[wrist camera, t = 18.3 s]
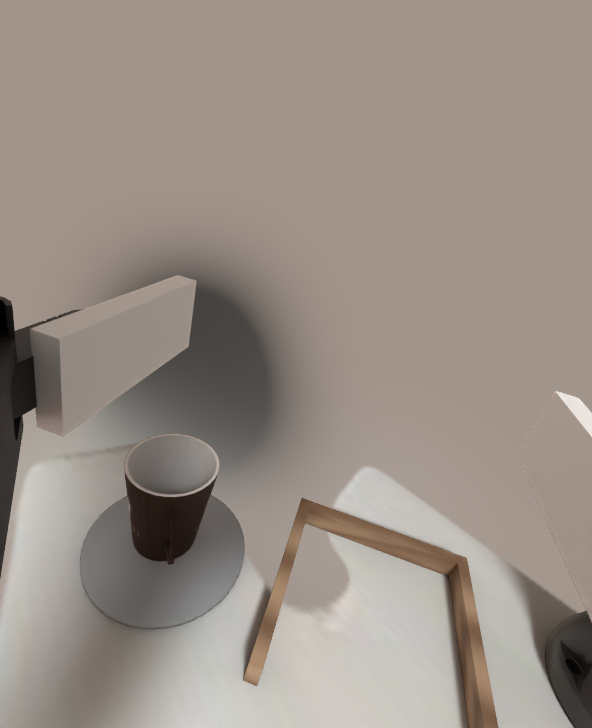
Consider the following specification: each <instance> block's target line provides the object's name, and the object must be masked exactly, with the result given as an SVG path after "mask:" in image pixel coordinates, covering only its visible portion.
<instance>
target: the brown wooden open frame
mask: <svg viewBox="0 0 592 728" xmlns="http://www.w3.org/2000/svg"><path fill="white" fill-rule="evenodd" d="M305 523H306V524H309V525H312V526H314V527H317V528H320V529H323V530H325V531H328V532H331V533H333V534H336V535H339V536H341V537H344V538H347V539H349V540H352V541H355V542H357V543H360V544H363V545H365V546H368V547H371V548H373V549H376V550H379V551H382V552H384V553H387V554H390V555H392V556H395V557H398V558H400V559H403V560H406V561H408V562H411V563H414V564H416V565H419V566H422V567H425V568H427V569H430V570H433V571H435V572H438V573H441V574H443V575H446V576H449V578H450V586H451V593H452V601H453V609H454V616H455V624H456V632H457V639H458V647H459V655H460V662H461V670H462V678H463V685H464V693H465V701H466V708H467V716H468V723H469V728H498V724H497V718H496V713H495V708H494V702H493V697H492V691H491V686H490V681H489V675H488V670H487V664H486V659H485V654H484V648H483V643H482V637H481V632H480V627H479V621H478V616H477V610H476V605H475V600H474V594H473V589H472V583H471V578H470V573H469V567H468V562H467V558H465V557H463V556H460V555H457V554H454V553H452V552H449V551H446V550H443V549H441V548H438V547H435V546H432V545H430V544H427V543H424V542H421V541H419V540H416V539H413V538H410V537H408V536H405V535H402V534H399V533H397V532H394V531H391V530H389V529H386V528H383V527H380V526H378V525H375V524H372V523H369V522H367V521H364V520H361V519H358V518H356V517H353V516H350V515H347V514H345V513H342V512H339V511H336V510H334V509H331V508H328V507H325V506H323V505H320V504H317V503H314V502H312V501H309V500H306V499H303V498H302V499H301V502H300V506H299V509H298V512H297V515H296V518H295V521H294V524H293V527H292V530H291V533H290V537H289V540H288V543H287V546H286V549H285V552H284V555H283V558H282V562H281V565H280V568H279V571H278V574H277V577H276V580H275V583H274V586H273V589H272V592H271V596H270V599H269V602H268V605H267V608H266V611H265V614H264V617H263V620H262V624H261V627H260V630H259V633H258V636H257V639H256V642H255V645H254V648H253V652H252V655H251V658H250V661H249V664H248V667H247V670H246V673H245V676H244V681H246V682H248V683H251V684H253V685H255V686H257V684H258V681H259V679H260V676H261V673H262V670H263V667H264V663H265V660H266V657H267V653H268V650H269V646H270V643H271V639H272V636H273V632H274V629H275V625H276V622H277V618H278V615H279V611H280V608H281V604H282V601H283V597H284V594H285V590H286V587H287V584H288V580H289V576H290V573H291V570H292V566H293V563H294V559H295V556H296V552H297V549H298V545H299V542H300V538H301V535H302V531H303V528H304V525H305Z"/></svg>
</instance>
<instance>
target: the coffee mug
mask: <svg viewBox="0 0 592 728" xmlns="http://www.w3.org/2000/svg"><path fill="white" fill-rule="evenodd" d="M124 470H125V479H126V487H127V496H128V505H129V513H130V522H131V531H132V540H133V544H134V547H135V549H136V550H137V552H138V553H139V554H140V555H141V556H143V557H145V558H147V559H149V560H152V561H167V563H168V565H171V564H174V559H176V558H178V557H180V556H182V555H184V554H185V553H186V552H187V551H188V550H189V549H190V548H191V547H192V545H193V543H194V541H195V538H196V535H197V532H198V529H199V526H200V523H201V521H202V518H203V515H204V512H205V509H206V506H207V503H208V500H209V497H210V495H211V492H212V489H213V486H214V483H215V480H216V477H217V474H218V471H219V459H218V456H217V454H216V452H215V451H214V449H212V447H211V446H210V445H208V444H207V443H205V442H204V441H202V440H200V439H198V438H195V437H192V436H189V435H183V434H161V435H156V436H153V437H149V438H147V439H145V440H143V441H141V442H139V443H138V444H136V445H135V446H134V447H133V448H132V449H131V450H130V451H129V453H128V454H127V456H126V459H125V462H124Z"/></svg>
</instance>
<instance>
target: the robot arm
mask: <svg viewBox="0 0 592 728" xmlns="http://www.w3.org/2000/svg"><path fill="white" fill-rule="evenodd" d="M195 288H196V281H195V280H192V279H188V278H185V277H182V276H179V275H177V276H174V277H171V278H169V279H166V280H163V281H160V282H157V283H155V284H152V285H149V286H147V287H144V288H141V289H138V290H135V291H133V292H130V293H127V294H124V295H122V296H119V297H116V298H113V299H111V300H108V301H105V302H102V303H100V304H97V305H94V306H91V307H89V308H86V309H81V310H73V311H70V312H68V313H64V314H62V315H59V316H58V317H53V318H50V319H48V320H47V321H42V322H39V323H36V324H33V325H31V326H28V327H25V328H22V329H19V330H17V331H14V320H13V309H12V303H11V301H9V300H8V299H6V298H3V297H0V577H1V570H2V564H3V557H4V550H5V544H6V537H7V531H8V524H9V518H10V511H11V505H12V498H13V491H14V485H15V478H16V472H17V465H18V459H19V452H20V446H21V439H22V433H23V417H22V415H23V414H25V413H27V412H28V411H30V410H32V409H33V408H35V407H36V421H37V427H39V428H42V429H44V430H47V431H50V432H52V433H55V434H58V435H60V436H65V435H66V434H67V433H69V432H70V431H71V430H73V429H74V428H76V427H77V426H78V425H80V424H81V423H82V422H84V421H85V420H87V419H88V418H90V417H91V416H92V415H94V414H95V413H97V412H98V411H99V410H101V409H102V408H104V407H105V406H106V405H108V404H109V403H110V402H112V401H113V400H115V399H116V398H117V397H119V396H120V395H121V394H123V393H124V392H126V391H127V390H128V389H130V388H131V387H133V386H134V385H135V384H137V383H138V382H140V381H141V380H142V379H144V378H145V377H147V376H148V375H149V374H151V373H152V372H154V371H155V370H156V369H158V368H159V367H161V366H162V365H163V364H165V363H166V362H168V361H169V360H170V359H172V358H173V357H174V356H176V355H177V354H179V353H180V352H181V351H183V350H184V349H186V348H187V347H188V345H189V337H190V329H191V321H192V312H193V305H194V296H195ZM517 457H518V459H519V461H520V463H521V466H522V468H523V470H524V473H525V475H526V477H527V479H528V482H529V484H530V486H531V488H532V490H533V493H534V495H535V497H536V499H537V502H538V503H539V506H540V508H541V510H542V513H543V515H544V517H545V519H546V522H547V524H548V526H549V528H550V530H551V533H552V535H553V537H554V539H555V542H556V544H557V546H558V548H559V550H560V552H561V555H562V557H563V559H564V562H565V564H566V566H567V568H568V570H569V573H570V575H571V577H572V579H573V582H574V584H575V586H576V588H577V590H578V593H579V595H580V597H581V599H582V602H583V603H584V606H585V608H586V610H587V611H584V612H582V613H578V614H575V615H572V616H570V617H568V618H566V619H565V620H563V621H562V622H561V623H560V624H559V625H558V627H557V628H556V629H555V630H554V631H553V632H552V633H551V635H550V636H549V638H548V640H547V644H546V651H545V655H546V664H547V669H548V673H549V677H550V680H551V682H552V685H553V688H554V690H555V692H556V695H557V697H558V699H559V701H560V703H561V705H562V706H563V708H564V710H565V712H566V713H567V715H568V717H569V718H570V720H571V721H572V723H573V725H574V726H575V727H576V728H592V413H591V412H590V410H589V409H588V408H587V407H586V406H585V405H584V404H583V403H582V401H581V400H580V399H579V398H577V397H574V396H570V395H567V394H564V393H561V392H557V391H555V392H554V393H553V395H552V396H551V398H550V400H549V401H548V403H547V405H546V406H545V408H544V410H543V411H542V413H541V414H540V416H539V418H538V419H537V421H536V423H535V424H534V426H533V428H532V429H531V431H530V432H529V434H528V436H527V437H526V439H525V441H524V442H523V444H522V446H521V447H520V449H519V450H518V452H517Z"/></svg>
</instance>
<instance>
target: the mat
mask: <svg viewBox="0 0 592 728" xmlns="http://www.w3.org/2000/svg"><path fill="white" fill-rule="evenodd" d="M244 546H245V545H244V536H243V533H242V529H241V527H240V524H239V522H238V520H237V519H236V517H235V516H234V514H233V513H232V512H231V510H230V509H229V508H228V507H227V506H226V505H225V504H224V503H222V502H221V501H220V500H218V499H217V498H215V497H213V496H212V495H210V497H209V500H208V503H207V506H206V509H205V512H204V515H203V518H202V521H201V523H200V526H199V529H198V532H197V535H196V538H195V541H194V543H193V545H192V547H191V548H190V549H189V550H188V551H187V552H186V553H185V554H184V555H182V556H180V557H178V558H176V559H174V564H171V565H168V563H167V561H152V560H149V559H147V558H145V557H143V556H141V555H140V554H139V553H138V552H137V550H136V549H135V547H134V544H133V540H132V531H131V522H130V513H129V505H128V496H126V497H124V498H122V499H121V500H119V501H118V502H116V503H114V504H113V505H112V506H110V507H109V508H108V509H107V510H106V511H105V512H103V513H102V514H101V515H100V516H99V518H98V519H97V520H96V521H95V522H94V524H93V525H92V527H91V528H90V530H89V531H88V533H87V536H86V538H85V540H84V543H83V546H82V550H81V557H80V571H81V579H82V583H83V586H84V589H85V591H86V594H87V595H88V597H89V598H90V600H91V601H92V603H93V604H94V605H95V606H96V607H97V608H98V609H99V610H100V611H101V612H102V613H104V614H105V615H106V616H108V617H109V618H111V619H113V620H115V621H117V622H119V623H122V624H125V625H128V626H131V627H137V628H142V629H161V628H169V627H174V626H179V625H182V624H185V623H187V622H190V621H193V620H195V619H197V618H199V617H201V616H202V615H204V614H205V613H207V612H208V611H210V610H212V609H213V608H214V607H215V606H216V605H217V604H219V603H220V602H221V601H222V600H223V599H224V597H225V596H226V595H227V594H228V593H229V591H230V590H231V588H232V587H233V586H234V584H235V582H236V580H237V578H238V576H239V573H240V570H241V567H242V563H243V558H244Z"/></svg>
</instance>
